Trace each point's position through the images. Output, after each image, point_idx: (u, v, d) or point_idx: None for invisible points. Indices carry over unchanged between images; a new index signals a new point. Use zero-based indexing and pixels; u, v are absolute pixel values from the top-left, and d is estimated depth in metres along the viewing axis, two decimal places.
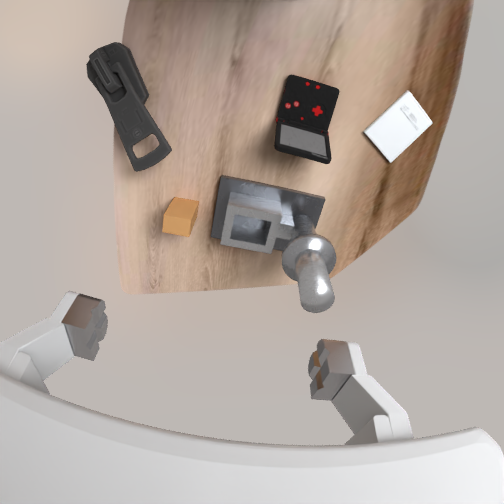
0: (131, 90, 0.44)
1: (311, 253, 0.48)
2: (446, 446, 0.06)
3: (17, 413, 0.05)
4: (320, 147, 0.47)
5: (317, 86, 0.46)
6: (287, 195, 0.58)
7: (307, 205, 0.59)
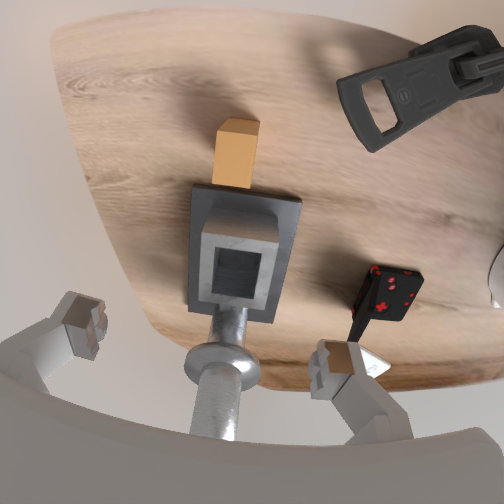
0: (460, 97, 0.24)
1: (241, 383, 0.33)
2: (446, 446, 0.06)
3: (17, 413, 0.05)
4: None
5: (407, 303, 0.43)
6: (275, 286, 0.43)
7: None
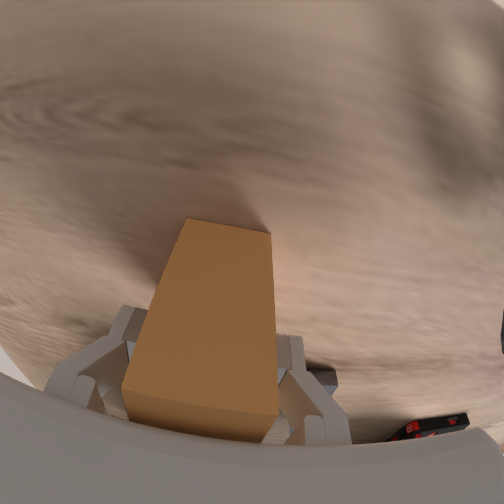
0: None
1: None
2: (446, 446, 0.06)
3: (17, 413, 0.05)
4: None
5: None
6: None
7: None
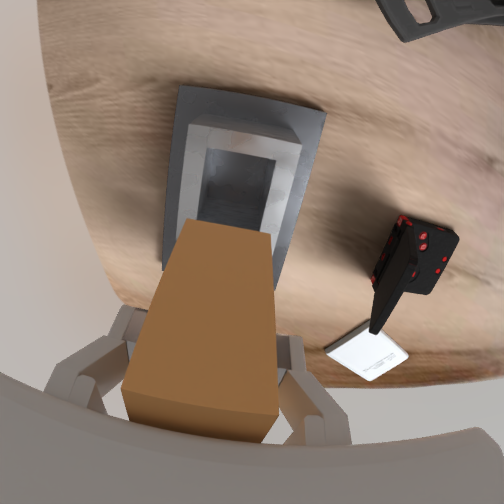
0: (496, 14, 0.14)
1: None
2: (446, 446, 0.06)
3: (17, 413, 0.05)
4: None
5: (438, 270, 0.33)
6: (282, 234, 0.31)
7: None
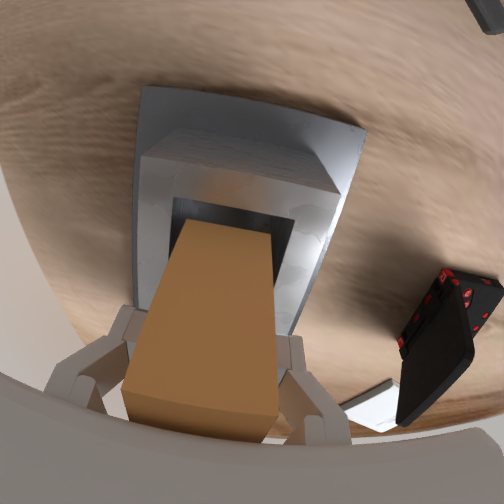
0: None
1: None
2: (446, 446, 0.06)
3: (17, 413, 0.05)
4: None
5: (476, 327, 0.25)
6: None
7: None
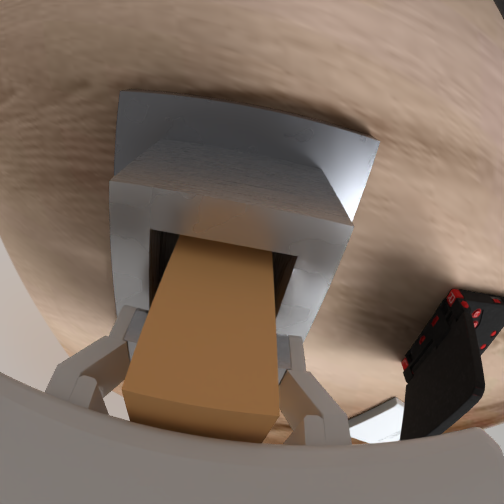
0: None
1: None
2: (446, 446, 0.06)
3: (17, 413, 0.05)
4: None
5: (484, 346, 0.23)
6: None
7: None
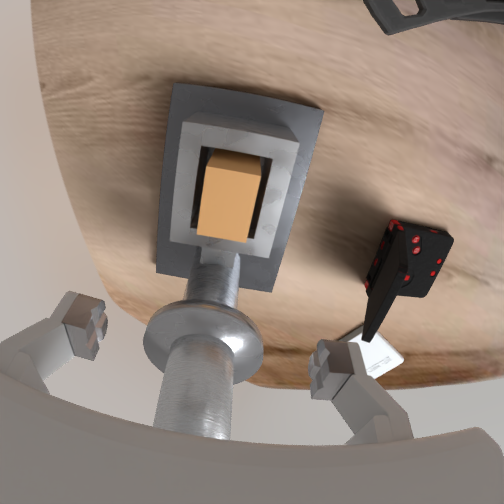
0: (487, 9, 0.14)
1: (233, 370, 0.21)
2: (446, 446, 0.06)
3: (17, 413, 0.05)
4: None
5: (433, 273, 0.33)
6: (279, 235, 0.31)
7: (259, 268, 0.33)
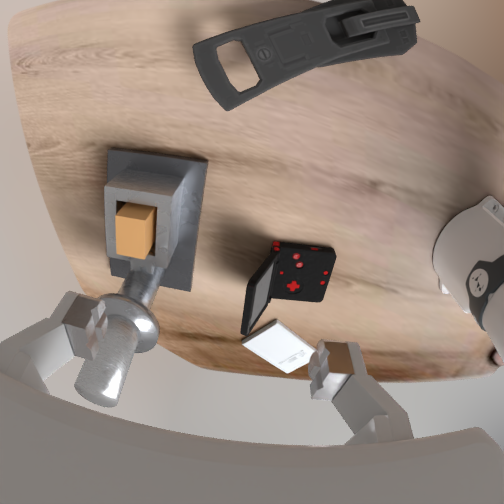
0: (340, 54, 0.25)
1: (136, 338, 0.33)
2: (446, 446, 0.06)
3: (17, 413, 0.05)
4: (255, 314, 0.41)
5: (323, 282, 0.45)
6: (188, 250, 0.42)
7: (178, 273, 0.45)
